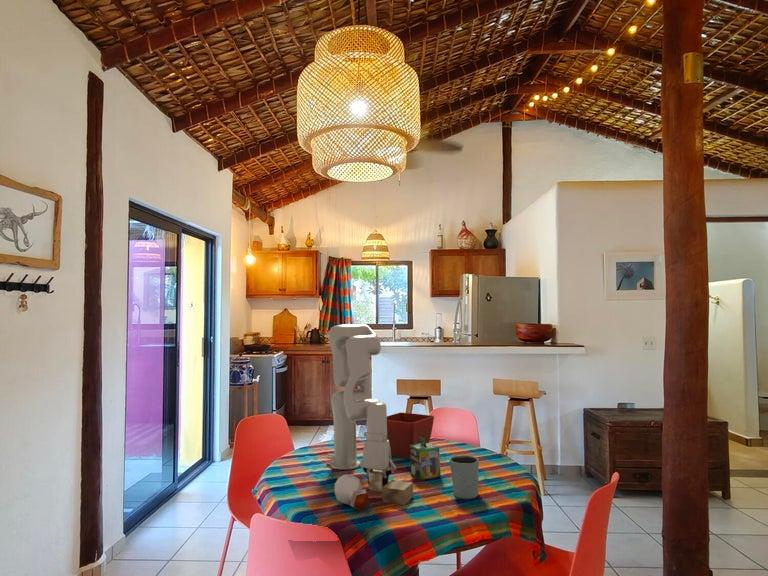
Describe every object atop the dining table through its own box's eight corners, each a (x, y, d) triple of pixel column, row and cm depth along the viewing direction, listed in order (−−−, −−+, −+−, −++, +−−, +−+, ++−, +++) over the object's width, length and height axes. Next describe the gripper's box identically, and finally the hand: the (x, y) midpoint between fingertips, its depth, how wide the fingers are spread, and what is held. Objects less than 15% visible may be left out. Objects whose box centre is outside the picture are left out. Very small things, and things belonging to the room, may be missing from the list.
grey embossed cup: (473, 501, 163) (472, 465, 164) (445, 496, 168) (444, 460, 169) (484, 492, 172) (482, 457, 172) (457, 487, 177) (456, 453, 178)
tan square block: (382, 502, 165) (382, 487, 165) (392, 494, 172) (391, 479, 172) (404, 505, 161) (403, 490, 162) (413, 497, 169) (412, 482, 169)
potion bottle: (344, 501, 170) (364, 521, 157) (324, 489, 165) (343, 509, 152) (359, 477, 172) (380, 495, 159) (339, 465, 168) (359, 482, 155)
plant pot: (401, 447, 235) (400, 411, 236) (435, 452, 224) (434, 415, 225) (377, 456, 219) (377, 418, 220) (413, 463, 208) (412, 423, 209)
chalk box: (441, 477, 189) (440, 438, 189) (419, 480, 185) (418, 441, 186) (430, 470, 197) (429, 433, 198) (409, 473, 194) (408, 436, 195)
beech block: (368, 489, 177) (368, 473, 177) (375, 485, 181) (374, 469, 181) (381, 491, 174) (381, 474, 175) (387, 487, 179) (386, 470, 179)
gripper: (351, 437, 179) (352, 487, 178) (393, 440, 172) (395, 493, 171) (361, 432, 186) (362, 481, 185) (402, 436, 179) (403, 486, 178)
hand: (378, 486), depth 178 cm, fingers closed on beech block, 5 cm apart
